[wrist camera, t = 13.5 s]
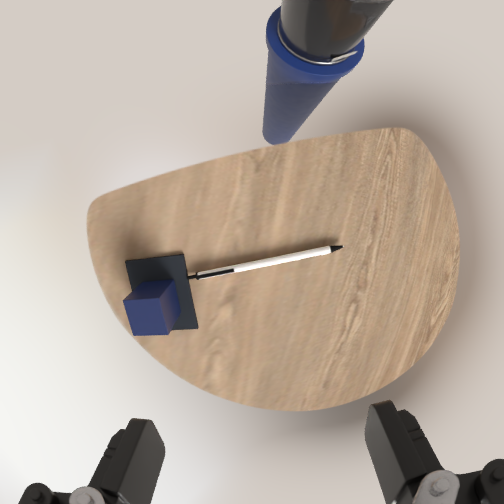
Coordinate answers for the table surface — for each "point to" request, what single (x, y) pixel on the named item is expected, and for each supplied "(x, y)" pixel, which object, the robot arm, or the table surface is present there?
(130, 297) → the block
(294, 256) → the pen
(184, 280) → the mat
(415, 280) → the table surface
